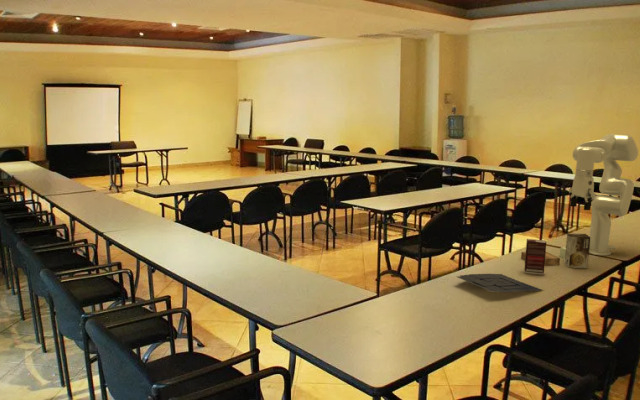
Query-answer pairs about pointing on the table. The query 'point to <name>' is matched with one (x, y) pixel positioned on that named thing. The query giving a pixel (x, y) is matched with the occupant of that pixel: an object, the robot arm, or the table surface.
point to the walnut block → (546, 259)
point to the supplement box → (535, 256)
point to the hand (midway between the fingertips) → (579, 208)
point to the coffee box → (577, 251)
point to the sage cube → (562, 252)
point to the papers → (497, 283)
